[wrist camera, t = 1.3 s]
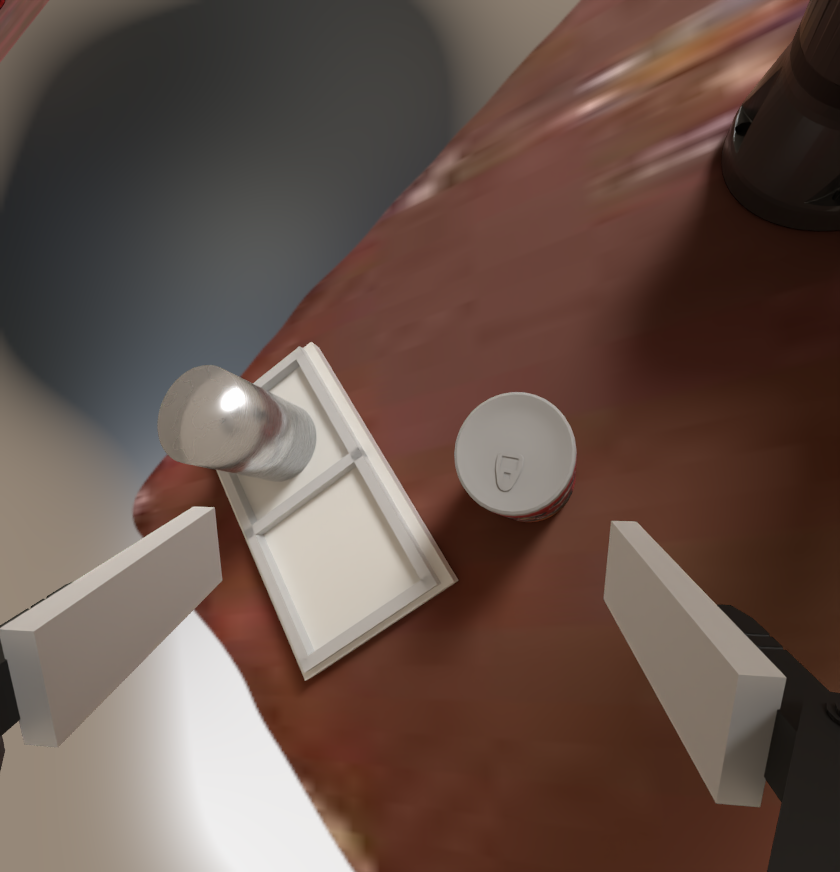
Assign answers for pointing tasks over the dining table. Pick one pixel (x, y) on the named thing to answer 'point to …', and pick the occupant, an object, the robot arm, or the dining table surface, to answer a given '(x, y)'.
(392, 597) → the divided white tray
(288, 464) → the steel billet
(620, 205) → the dining table surface
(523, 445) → the canned food
